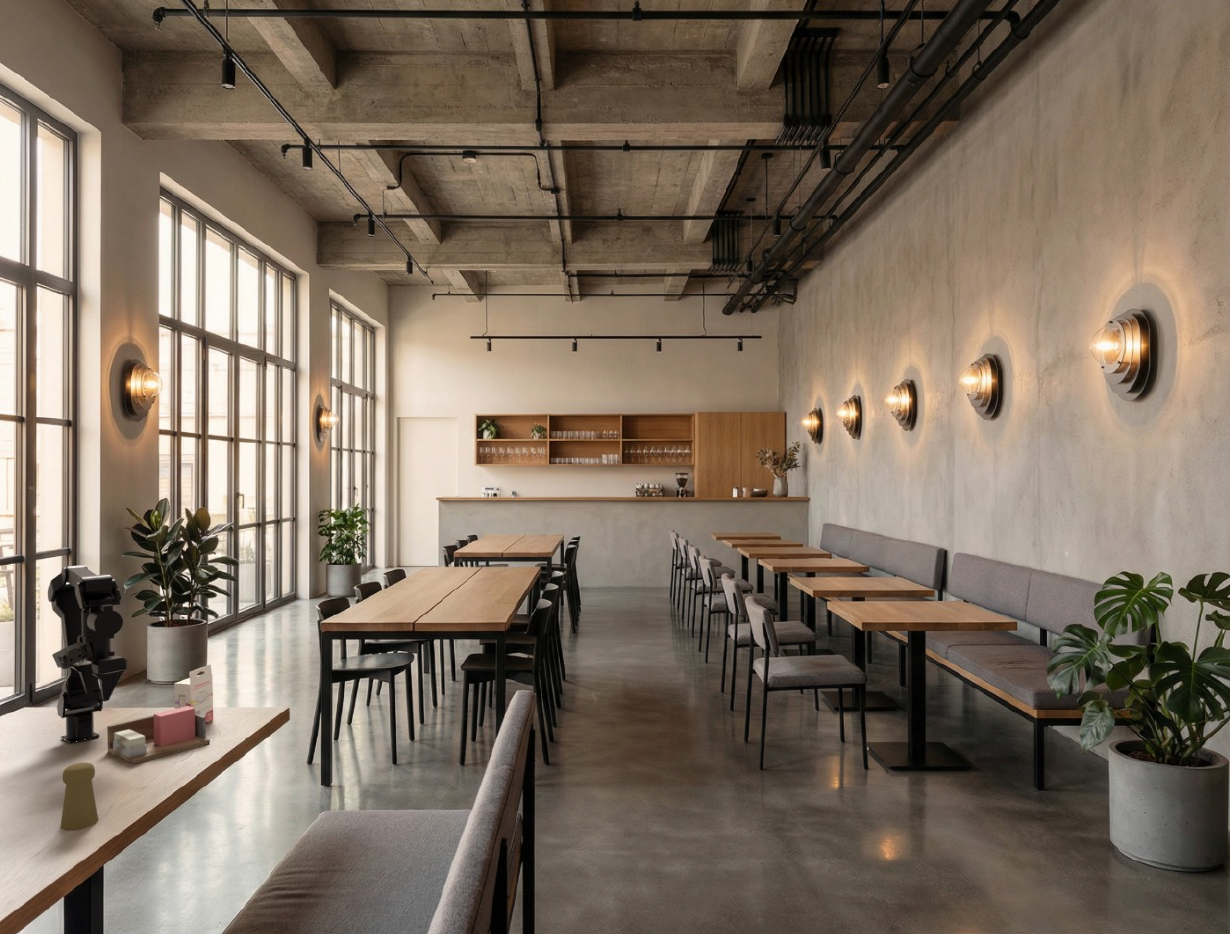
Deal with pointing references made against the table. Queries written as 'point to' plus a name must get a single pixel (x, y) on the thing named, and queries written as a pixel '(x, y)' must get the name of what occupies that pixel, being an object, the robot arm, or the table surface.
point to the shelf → (148, 740)
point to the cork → (79, 797)
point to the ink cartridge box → (196, 692)
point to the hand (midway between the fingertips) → (97, 697)
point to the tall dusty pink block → (174, 726)
